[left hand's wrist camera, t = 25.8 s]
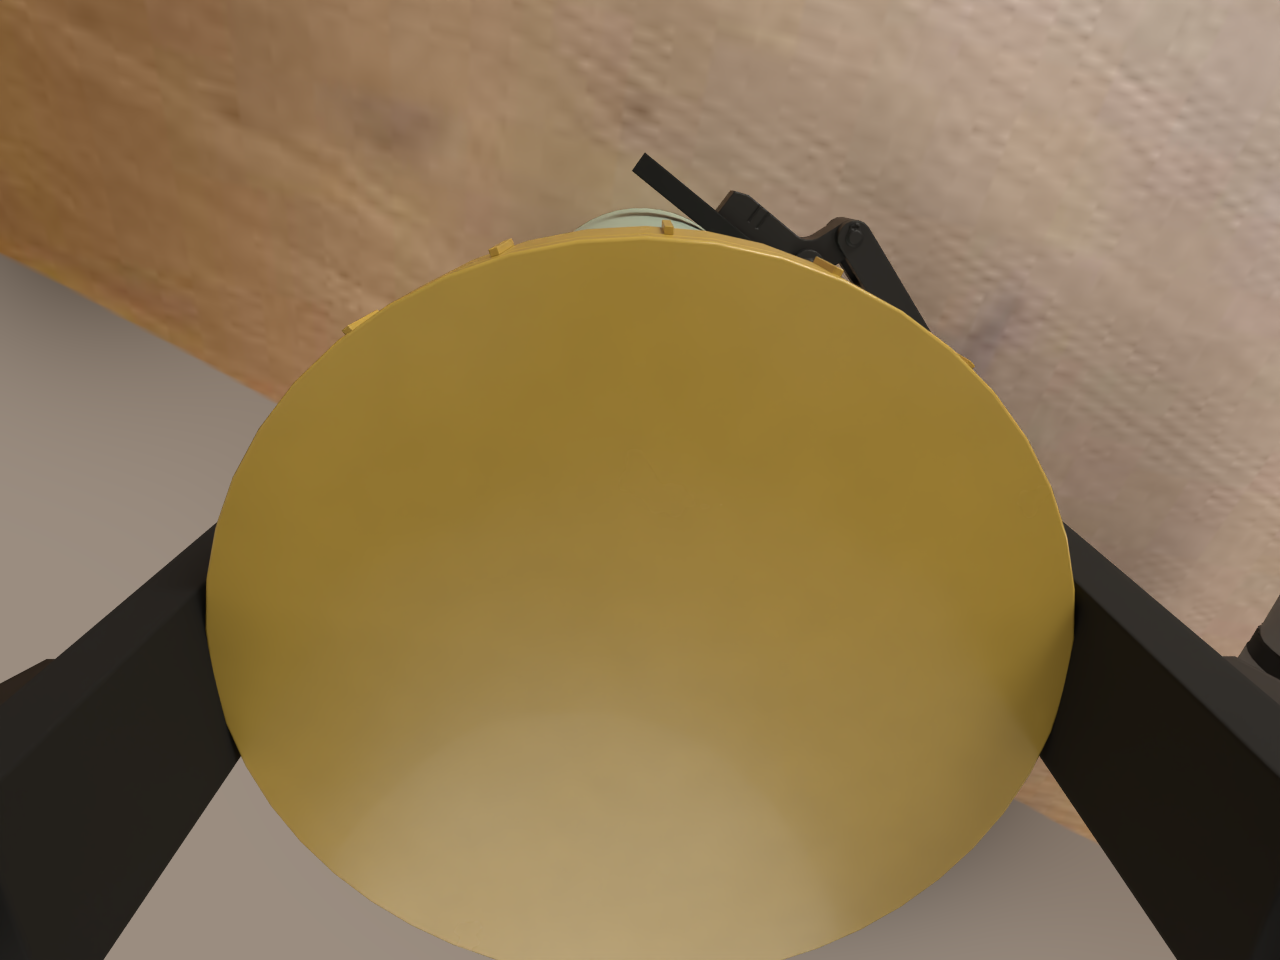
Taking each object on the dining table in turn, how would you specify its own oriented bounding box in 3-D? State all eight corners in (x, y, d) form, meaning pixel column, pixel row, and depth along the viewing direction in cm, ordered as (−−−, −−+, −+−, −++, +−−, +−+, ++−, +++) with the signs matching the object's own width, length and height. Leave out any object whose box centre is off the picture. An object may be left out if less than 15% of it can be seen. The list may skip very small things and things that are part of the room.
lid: (1005, 862, 14) (1051, 949, 12) (361, 919, 14) (327, 1009, 13) (1050, 170, 10) (1128, 172, 8) (146, 282, 10) (58, 304, 9)
